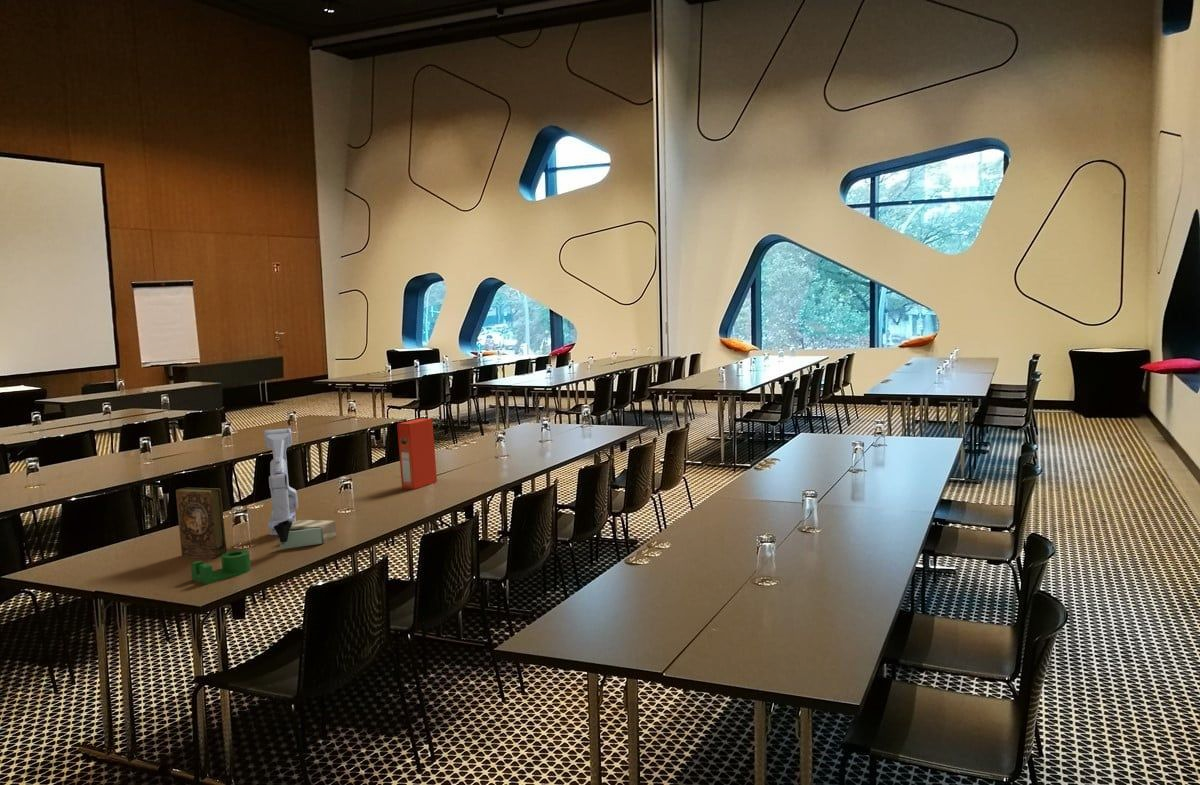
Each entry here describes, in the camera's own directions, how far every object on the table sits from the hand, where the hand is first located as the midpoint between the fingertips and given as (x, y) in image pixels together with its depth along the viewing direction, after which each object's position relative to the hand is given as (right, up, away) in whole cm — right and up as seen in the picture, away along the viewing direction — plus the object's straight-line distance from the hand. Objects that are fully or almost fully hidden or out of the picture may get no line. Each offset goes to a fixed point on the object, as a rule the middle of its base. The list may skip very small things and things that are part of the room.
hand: (283, 541), depth 328 cm
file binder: (+28, +9, +108) cm, 112 cm away
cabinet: (+5, -2, +16) cm, 17 cm away
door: (+5, -3, +6) cm, 8 cm away
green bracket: (-12, -8, -24) cm, 28 cm away
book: (-30, -5, 0) cm, 30 cm away
